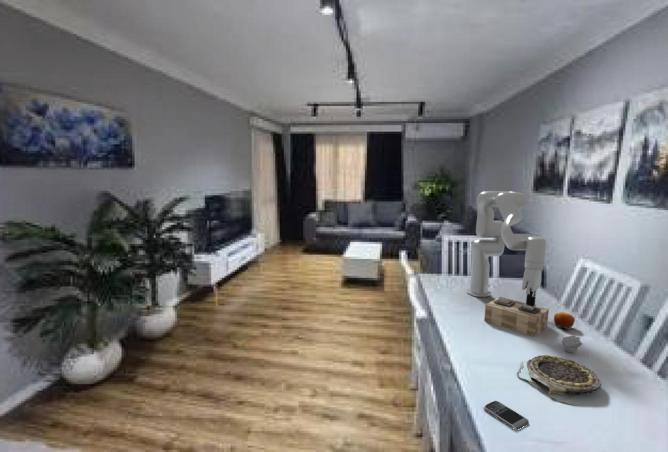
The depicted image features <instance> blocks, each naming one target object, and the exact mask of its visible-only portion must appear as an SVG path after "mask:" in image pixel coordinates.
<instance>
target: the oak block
mask: <svg viewBox="0 0 668 452" xmlns="http://www.w3.org/2000/svg"><path fill="white" fill-rule="evenodd" d="M502 299H503V300H507V301H511V303H509V304H504V303H500V302H499V301H500V300H502ZM525 303H526V302H521V301H519V300H515V299H510V298H508V297H507V298H506V297H502V296H499V297H497V298H495V299H493V300H492V301H490V302H488V303H485V308H484V319H483V320H484V322H487V323H490V324H493V325H497V326H500V327H503V328H507V329H509V330H513V331H516V332H519V333H523V334H526V335H529V336H532V337H536V336H538V334H539V333H541V331H543V330H544V329H545V328H546V327H547V326H548V319H549V309H548V308H546V307H542V306H539V305H538V306H537V305H536V310H534V311H530V310H527V309H523V306H524V304H525Z"/></svg>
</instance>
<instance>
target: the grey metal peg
mask: <svg viewBox="0 0 668 452" xmlns="http://www.w3.org/2000/svg"><path fill="white" fill-rule="evenodd" d="M524 303H525V304H524V306H523V309H527V310H530V311H534V310H536V306H537V304H536V303H535V305H534V306H532V305H528V304H526V302H524Z"/></svg>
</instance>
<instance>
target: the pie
mask: <svg viewBox="0 0 668 452" xmlns="http://www.w3.org/2000/svg"><path fill="white" fill-rule="evenodd" d="M531 358H532V359H531ZM531 358H530V359H528V360H527V361H526V368H527V371H528V375H529V377H530V380H531V381H530V380H529V379H526V378H523V379H524V381H527V382H528V383H529V385H530V386H532V387H533V388H535V389H542V386H541V385H539V384H538V382H540V383H541V384H542V385H544V386H545V387H547V388H548V389H549V391H548V397H550V398H551V400H554V401H557V402H558V403H560V401H559V400H557V399H556V398H554V397H552V394H557V395H562V396H567V395H580V394H587V393H590V394H591V393H593V392H595V391H598V390H600V389H601V387H602V382H601V381H602V380H601V378H600V377H599V375H598V374H597V373H595V371H593V370H592V369H590V368H588V367H586V366H585V365H583V364H581V365H580V364H579V363H577V362H576V361H574V360H570V359H568V358H563V357H559V356H554V355H546V354H545V355H543V354H542V355H537V356H534V357H531ZM519 364H520V367H519V369H518V371H517V372H516V375H517V377H519V378H520V374H522V372H521V369H522V370H524V369H525V368H524V365H525V364H524V363H523V361H521V362H520V363H519ZM523 364H524V365H523ZM523 368H524V369H523ZM519 373H520V374H519ZM534 379H535V380H536V381H537V382H536V381H535V380H534ZM562 403H563V404H565V402H564V401H562Z"/></svg>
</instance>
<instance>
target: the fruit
mask: <svg viewBox="0 0 668 452" xmlns="http://www.w3.org/2000/svg"><path fill="white" fill-rule="evenodd" d="M575 321H576V319H575V316H573V315H572V314H570V313H567V312H564V311H560V312H556V313H555V314H554V315H553V322H554V324H555V326H556V327H558V328H564V329H566V330H568V331H569V329H571V328H572V327H573V326H574V325H575Z"/></svg>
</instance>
